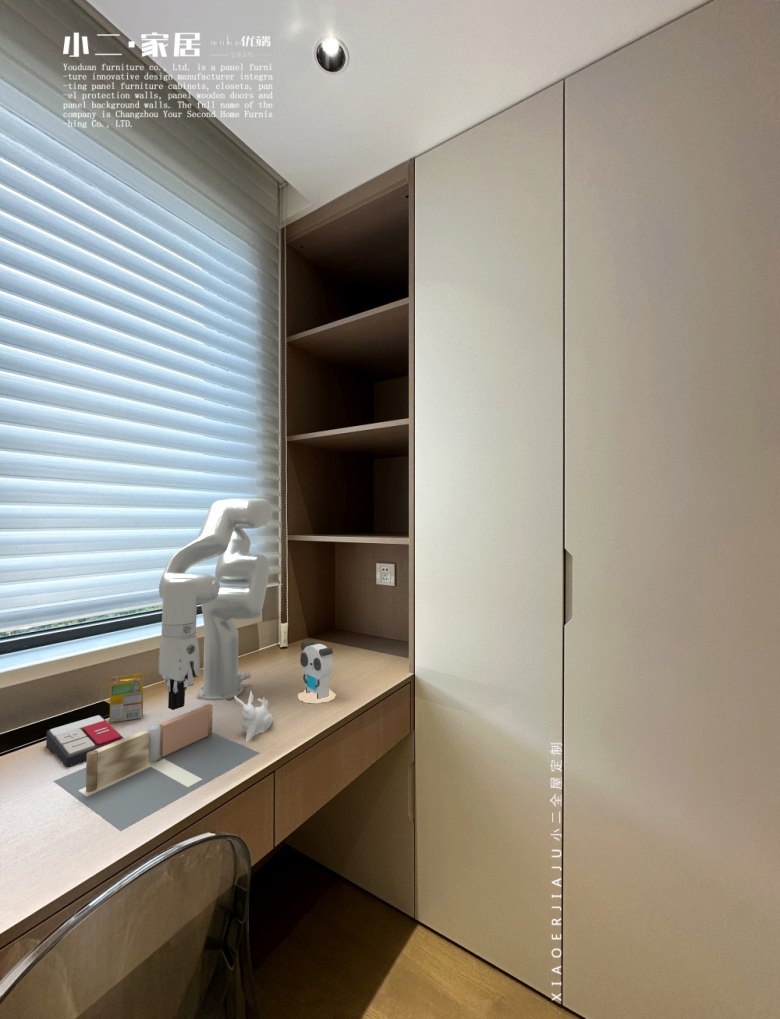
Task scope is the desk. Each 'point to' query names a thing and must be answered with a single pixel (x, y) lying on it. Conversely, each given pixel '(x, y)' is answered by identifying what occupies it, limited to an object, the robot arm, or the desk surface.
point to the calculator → (80, 739)
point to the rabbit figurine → (254, 717)
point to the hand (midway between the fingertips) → (176, 707)
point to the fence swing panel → (179, 732)
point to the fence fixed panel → (116, 760)
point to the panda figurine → (316, 667)
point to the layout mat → (158, 780)
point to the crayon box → (126, 698)
